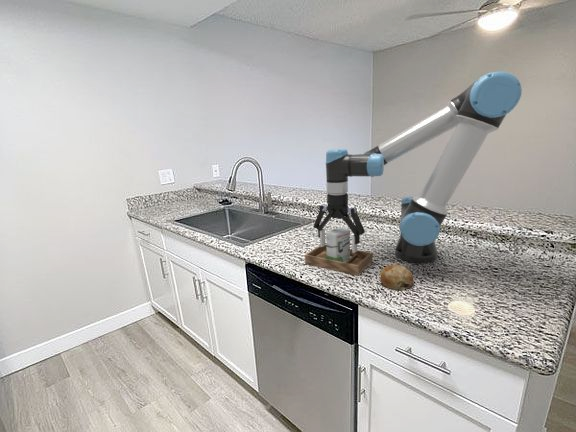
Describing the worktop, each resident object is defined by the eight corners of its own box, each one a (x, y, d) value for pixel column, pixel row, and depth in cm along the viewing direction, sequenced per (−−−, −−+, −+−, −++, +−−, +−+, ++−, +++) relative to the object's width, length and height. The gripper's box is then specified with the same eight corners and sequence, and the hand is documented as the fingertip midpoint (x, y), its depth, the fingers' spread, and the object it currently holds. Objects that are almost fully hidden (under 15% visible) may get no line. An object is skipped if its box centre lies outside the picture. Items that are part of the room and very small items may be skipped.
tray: (372, 261, 115) (372, 252, 114) (358, 275, 105) (358, 266, 104) (322, 251, 128) (322, 243, 127) (305, 263, 117) (304, 255, 116)
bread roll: (389, 301, 94) (398, 285, 90) (370, 277, 102) (377, 260, 97) (414, 293, 98) (423, 277, 93) (394, 270, 105) (402, 254, 100)
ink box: (336, 265, 111) (335, 234, 108) (326, 261, 115) (325, 232, 112) (350, 258, 117) (350, 229, 114) (340, 255, 120) (340, 226, 117)
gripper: (374, 193, 105) (373, 251, 110) (313, 189, 119) (315, 240, 125) (366, 197, 99) (365, 258, 105) (302, 193, 113) (305, 246, 119)
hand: (338, 248), depth 115 cm, fingers open, 13 cm apart
